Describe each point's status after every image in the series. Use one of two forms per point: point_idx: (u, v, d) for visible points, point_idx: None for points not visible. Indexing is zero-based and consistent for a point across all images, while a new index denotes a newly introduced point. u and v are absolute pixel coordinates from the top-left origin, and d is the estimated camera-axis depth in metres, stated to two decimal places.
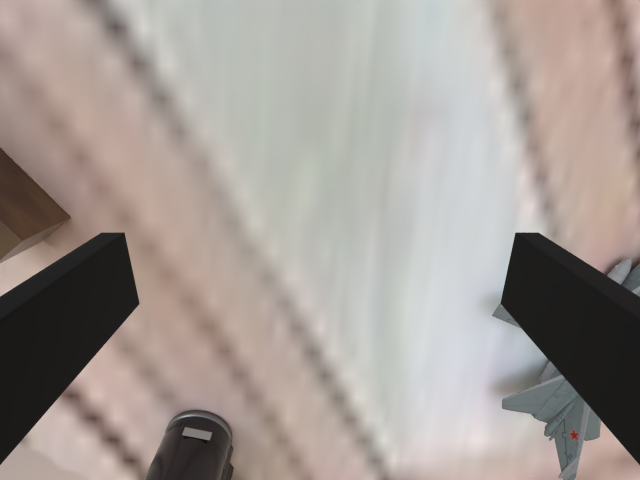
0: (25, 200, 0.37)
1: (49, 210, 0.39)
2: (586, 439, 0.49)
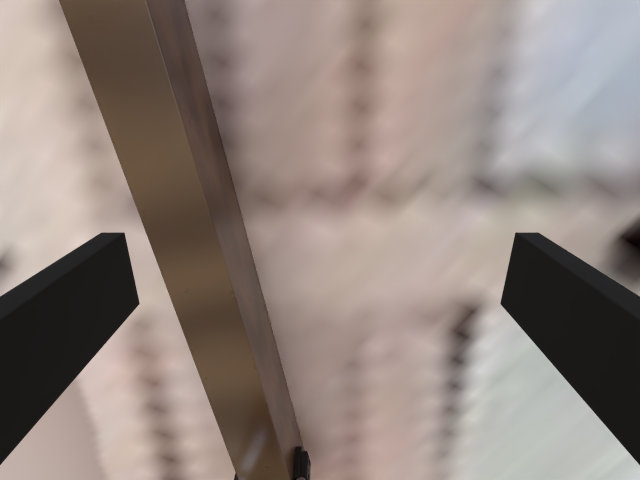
0: None
1: None
2: None
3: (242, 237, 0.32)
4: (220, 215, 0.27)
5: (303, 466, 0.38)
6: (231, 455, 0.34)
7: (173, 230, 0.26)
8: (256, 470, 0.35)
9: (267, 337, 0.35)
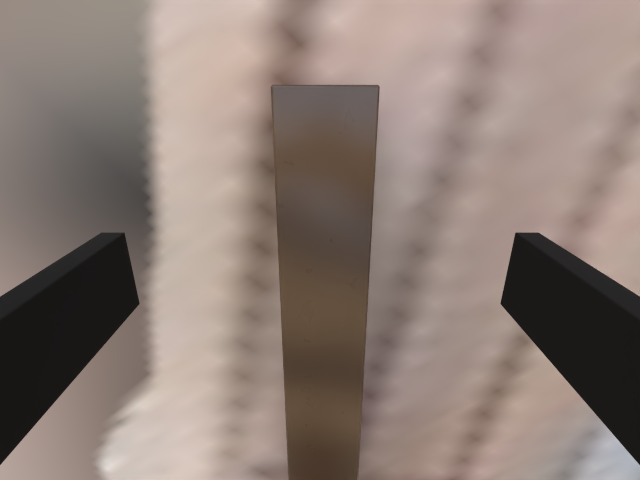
0: None
1: None
2: None
3: None
4: None
5: None
6: None
7: None
8: None
9: None
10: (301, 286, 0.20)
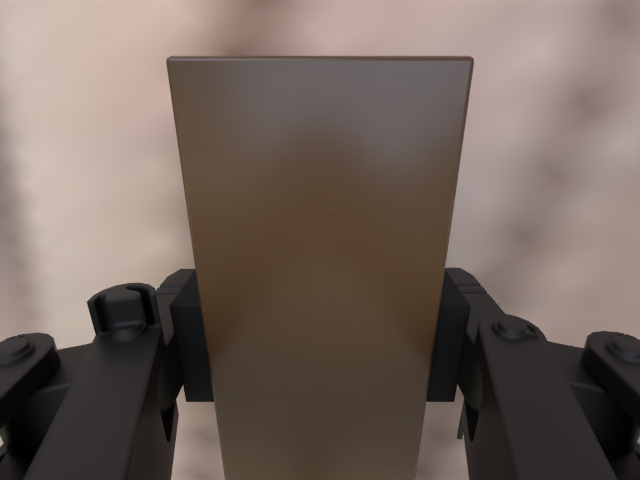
0: None
1: None
2: None
3: None
4: None
5: None
6: None
7: None
8: None
9: None
10: None
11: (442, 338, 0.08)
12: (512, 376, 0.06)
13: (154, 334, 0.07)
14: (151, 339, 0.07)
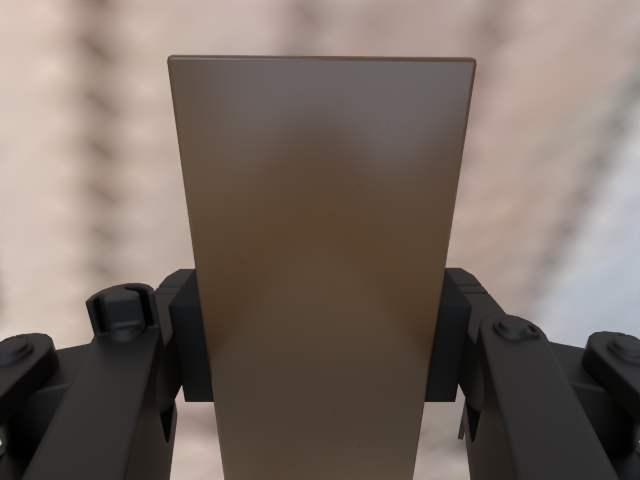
0: None
1: None
2: None
3: None
4: None
5: None
6: None
7: None
8: None
9: None
10: None
11: (443, 338, 0.08)
12: (513, 376, 0.06)
13: (153, 334, 0.07)
14: (150, 339, 0.07)
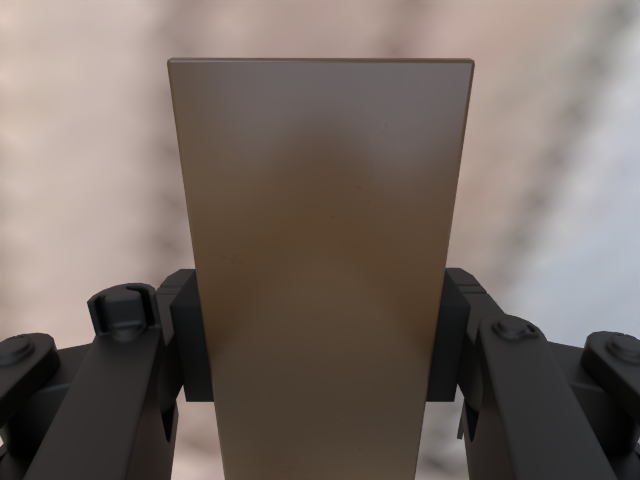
0: None
1: None
2: None
3: None
4: None
5: None
6: None
7: None
8: None
9: None
10: None
11: (442, 338, 0.08)
12: (512, 376, 0.06)
13: (154, 334, 0.07)
14: (151, 339, 0.07)
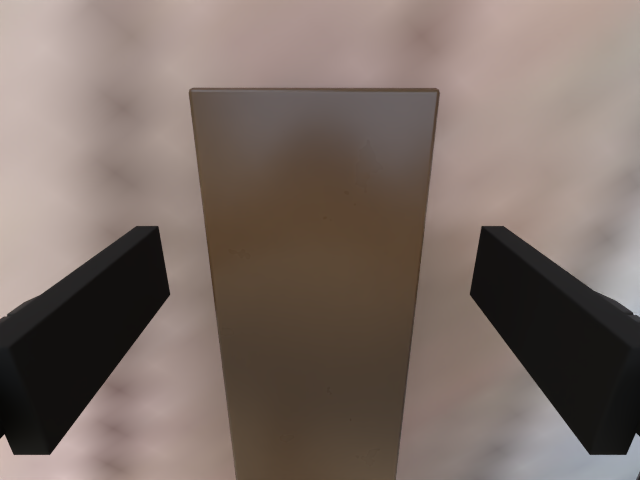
0: None
1: None
2: None
3: None
4: None
5: None
6: None
7: None
8: None
9: None
10: (274, 461, 0.11)
11: (629, 385, 0.07)
12: None
13: None
14: None
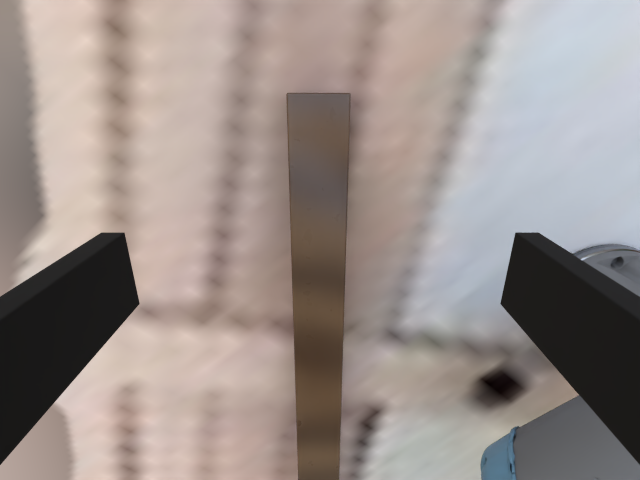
0: None
1: None
2: None
3: None
4: None
5: None
6: None
7: (314, 432, 0.42)
8: None
9: None
10: (304, 219, 0.32)
11: None
12: None
13: None
14: None
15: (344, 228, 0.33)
